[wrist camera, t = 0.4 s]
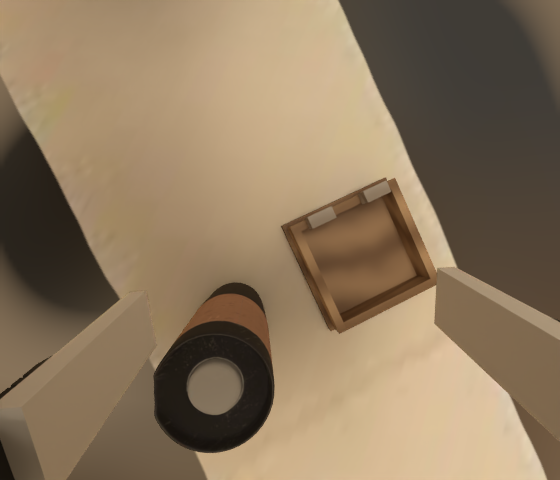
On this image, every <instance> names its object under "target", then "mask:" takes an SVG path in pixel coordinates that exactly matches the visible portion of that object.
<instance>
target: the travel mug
mask: <svg viewBox="0 0 560 480" xmlns="http://www.w3.org/2000/svg"><path fill="white" fill-rule="evenodd" d="M154 396H155V411H154V414H155V418H156V421H157V423H158V424H159V426H160V427H161V429H162V430H163V431H164V432H165V433H166V434H167V435H168V436H169V437H170V438H171V439H172V440H173V441H175V442H176V443H177V444H179V445H181V446H183V447H185V448H187V449H190V450H193V451H197V452H203V453H217V452H223V451H227V450H231V449H233V448H235V447H238V446H240V445H241V444H243V443H245V442H246V441H248V440H249V439H250V438H252V437H253V436H254V435H255V434H256V433H257V432H258V431H259V429H260V428H261V427H262V426H263V424H264V422H265V421H266V419H267V417H268V415H269V413H270V410H271V407H272V404H273V398H274V376H273V367H272V358H271V349H270V341H269V332H268V324H267V320H266V316H265V312H264V308H263V304H262V301H261V299H260V297H259V295H258V294H257V292H256V291H255V290H254V289H253V288H251V287H250V286H248V285H246V284H242V283H229V284H226V285H224V286H222V287H220V288H219V289H217V290H216V291H215V292H214V293H213V294H212V295H211V296H210V297H209V298H208V299H207V300H206V301H205V302H204V303H203V305H202V306H201V307H200V308H199V309H198V310H197V312H196V313H195V315H194V316H193V317H192V319H191V320H190V322H189V323H188V324H187V326H186V327H185V329H184V330H183V331H182V333H181V334H180V335H179V337H178V338H177V340H176V341H175V342H174V344H173V345H172V347H171V348H170V349H169V351H168V352H167V353H166V355H165V356H164V358H163V359H162V361H161V362H160V364H159V365H158V367H157V369H156V371H155V373H154Z"/></svg>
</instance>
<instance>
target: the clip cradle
mask: <svg viewBox="0 0 560 480" xmlns="http://www.w3.org/2000/svg"><path fill="white" fill-rule="evenodd" d="M282 229H283V231H284V233H285V235H286V237H287V239H288V242H289V244H290V246H291V248H292V250H293V252H294V254H295V257H296V259H297V261H298V263H299V265H300V267H301V270H302V272H303V274H304V276H305V278H306V280H307V282H308V285H309V287H310V289H311V291H312V293H313V295H314V297H315V300H316V302H317V304H318V306H319V308H320V310H321V313H322V315H323V317H324V319H325V321H326V323H327V325H328V328H329V329H330V331H332V330H334V329H336V330H337V331H338V332H339V334H340V333H342V332H344V331H346V330H348V329H350V328H352V327H354V326H356V325H358V324H360V323H362V322H364V321H366V320H368V319H370V318H372V317H374V316H376V315H378V314H379V313H381V312H383V311H385V310H387V309H389V308H391V307H393V306H395V305H397V304H399V303H401V302H403V301H405V300H407V299H409V298H411V297H413V296H415V295H417V294H419V293H421V292H423V291H425V290H427V289H429V288H431V287H433V286H435V285H436V283H437V273H436V270H435V268H434V266H433V263H432V261H431V259H430V257H429V254H428V252H427V250H426V248H425V245H424V243H423V241H422V238H421V236H420V234H419V232H418V229H417V227H416V225H415V223H414V220H413V218H412V216H411V213H410V211H409V209H408V207H407V204H406V202H405V200H404V197H403V195H402V193H401V191H400V188H399V186H398V184H397V182H396V179H395V178H394V179H391V180H389V181H387V179H386V178H383V179H381V180H379V181H377V182H375V183H373V184H370V185H368V186H366V187H364V188H362V189H360V190H358V191H355V192H353V193H351V194H349V195H347V196H345V197H343V198H340V199H338V200H336V201H334V202H332V203H330V204H328V205H325V206H323V207H321V208H319V209H317V210H315V211H313V212H310V213H308V214H306V215H304V216H302V217H300V218H298V219H295V220H293V221H291V222H289V223H287V224H285V225H283V226H282Z"/></svg>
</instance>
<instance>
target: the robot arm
mask: <svg viewBox="0 0 560 480" xmlns="http://www.w3.org/2000/svg"><path fill="white" fill-rule="evenodd" d="M434 324H435V325H436V326H438V327H439V328H440V329H441V330H442V331H443V332H444V333H445V334H446V335H447V336H448V337H449V338H450V339H451V340H452V341H453V342H455V343H456V344H457V345H458V346H459V347H460V348H461V349H462V350H463V351H464V352H465V353H466V354H467V355H468V356H469V357H470V358H471V359H473V360H474V361H475V362H476V363H477V364H478V365H479V366H480V367H481V368H482V369H483V370H484V371H485V372H486V373H487V374H488V375H489V376H491V377H492V378H493V379H494V380H495V381H496V382H497V383H498V384H499V385H500V386H501V387H502V388H503V389H504V390H505V391H506V392H508V393H509V394H510V395H511V396H512V397H513V398H514V399H515V400H516V401H517V402H518V403H519V404H520V405H521V406H522V407H524V409H526V410H527V411H528V412H529V413H530V414H531V415H532V416H533V417H534V418H535V419H536V420H537V421H538V422H539V423H540V424H541V425H543V426H544V427H545V428H546V429H547V430H548V431H549V432H550V433H551V434H552V435H553V436H554V437H555V438H556V439H557V440H558V441H559V442H560V321H559V320H557V319H553V318H551V317H549V316H547V315H545V314H543V313H541V312H539V311H537V310H535V309H534V308H531V307H530V306H528V305H526V304H524V303H522V302H520V301H518V300H516V299H514V298H513V297H511V296H509V295H507V294H505V293H503V292H501V291H499V290H497V289H495V288H494V287H492V286H490V285H488V284H486V283H484V282H482V281H480V280H478V279H476V278H474V277H473V276H470V275H469V274H467V273H465V272H463V271H461V270H459V269H457V268H455V267H446V268H437V283H436V302H435V322H434ZM156 346H157V344H156V338H155V333H154V328H153V323H152V318H151V312H150V307H149V302H148V297H147V292H146V291H136V292H129V293H127V294H126V295H125V296H124V297H123V298H121V299H120V300H119V301H118V302H117V303H115V304H114V305H113V306H112V307H111V308H109V309H108V310H107V311H106V312H105V313H104V314H102V315H101V316H100V317H99V318H97V319H96V320H95V321H94V322H93V323H91V324H90V325H89V326H88V327H87V328H85V329H84V330H83V331H82V332H81V333H79V334H78V335H77V336H76V337H75V338H74V339H72V340H71V341H70V342H68V343H67V344H66V345H65V346H64V347H63V348H61V349H60V350H59V351H58V352H56V353H55V354H54V355H52V356H51V357H49V358H47V359H45V360H43V361H42V362H40V363H38V364H37V365H35V366H34V367H33V368H32V369H31V370H29V371H28V372H27V373H26V374H24V375H23V378H19V379H18V380H17V381H16V382H14V383H13V384H12V385H11V387H10V388H7V389H6V390H5V391H3V392H2V393H1V394H0V480H66V479H67V478H68V476H69V475H70V473H71V472H72V470H73V469H74V467H75V466H76V464H77V463H78V461H79V460H80V458H81V457H82V455H83V454H84V452H85V451H86V449H87V448H88V446H89V445H90V443H91V442H92V440H93V439H94V437H95V436H96V435H97V433H98V432H99V430H100V429H101V427H102V426H103V424H104V423H105V421H106V420H107V418H108V417H109V415H110V414H111V412H112V411H113V409H114V408H115V406H116V405H117V403H118V402H119V400H120V399H121V397H122V396H123V394H124V393H125V392H126V390H127V389H128V387H129V386H130V384H131V383H132V381H133V380H134V378H135V377H136V375H137V374H138V372H139V371H140V369H141V368H142V366H143V365H144V363H145V362H146V361H147V359H148V358H149V356H150V355H151V353H152V352H153V350H154V349H155V347H156Z"/></svg>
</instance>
